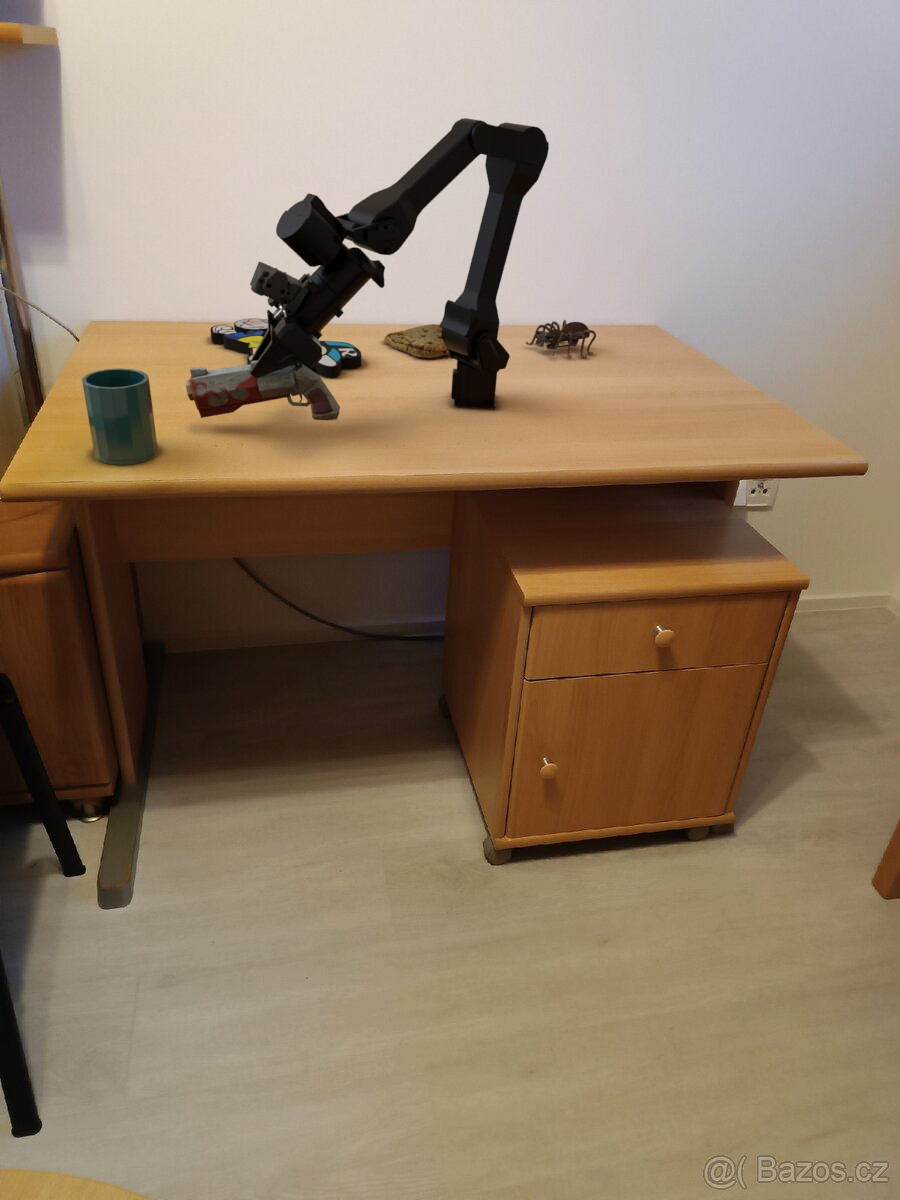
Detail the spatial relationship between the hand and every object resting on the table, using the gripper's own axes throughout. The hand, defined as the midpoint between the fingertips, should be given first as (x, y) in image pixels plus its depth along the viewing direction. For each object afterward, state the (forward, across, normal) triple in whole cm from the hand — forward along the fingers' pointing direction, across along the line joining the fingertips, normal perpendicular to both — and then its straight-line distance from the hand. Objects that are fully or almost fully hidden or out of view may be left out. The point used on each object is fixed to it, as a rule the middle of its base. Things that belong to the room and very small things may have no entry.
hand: (252, 371), depth 120 cm
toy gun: (+4, 0, +6) cm, 7 cm away
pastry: (-17, -39, +30) cm, 52 cm away
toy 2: (-35, -36, +48) cm, 69 cm away
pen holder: (+18, +7, -6) cm, 20 cm away
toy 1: (+2, -35, +10) cm, 37 cm away
